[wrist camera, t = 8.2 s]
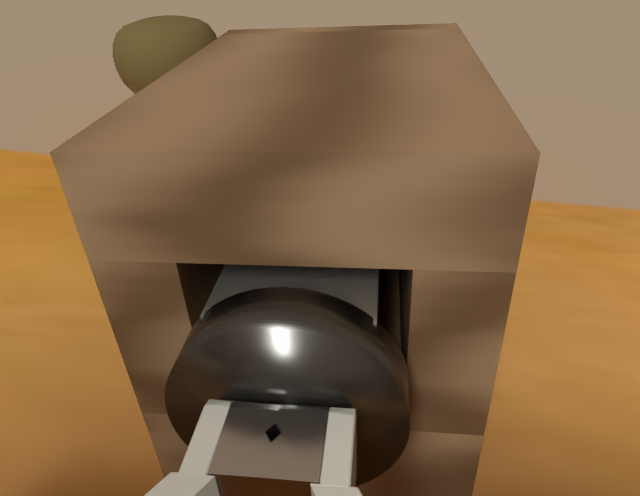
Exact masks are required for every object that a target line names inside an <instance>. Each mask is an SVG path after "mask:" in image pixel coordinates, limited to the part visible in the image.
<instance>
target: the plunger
mask: <svg viewBox="0 0 640 496" xmlns="http://www.w3.org/2000/svg"><path fill="white" fill-rule="evenodd" d="M379 276H380V269H371V268H336V267H302V266H267V265H233V264H225V265H224V267H223V270H222V272H221V274H220V276H219V278H218V280H217V282H216V284H215V286H214V288H213V290H212V292H211V295H210V297H209V299H208V301H207V303H206V305H205V307H204V309H203V311H202V313H201V315H200V318H199V319H198V320H197V321H196V322H195V324H194V326H193V327H192V329H191V330H190V332H189V334H188V337H187V339H186V341H185V343H184V345H183V347H182V349H181V351H180V353H179V355H178V357H177V359H176V361H175V363H174V365H173V367H172V369H171V371H170V374H169V376H168V379H167V382H166V387H165V406H166V410H167V414H168V417H169V419H170V422H171V424H172V426H173V427H174V429H175V431H176V433H177V434H178V435H179V437H180V438H181V439H182V441H183V442H184V443H185V444H186V445H187V446H189V444H190V441H191V438H192V436H193V433H194V431H195V428H196V426H197V423H198V420H199V418H200V415H201V413H202V410H203V408H204V406H205V404H206V403H207V402H208V400H209V399H216V400H229V401H242V402H253V403H264V404H275V405H281V404H289V405H309V406H330V407H336V408H353V409H356V412H357V462H356V486H359V485H362V484H364V483H367V482H369V481H371V480H373V479H375V478H377V477H378V476H380V475H382V474H383V473H384V472H386V471H387V470H388V469H389V468H391V467H392V466H393V464H394V463H395V462H396V461H397V460H398V459H399V457H400V456H401V454H402V453H403V451H404V449H405V447H406V444H407V442H408V438H409V433H410V412H409V386H408V370H407V366H406V361H405V359H404V356H403V354H402V351H401V349H400V348H399V346H398V344H397V343H396V341H395V340H394V338H393V337H392V336H391V335H390V334H389V332H388V331H387V330H386V329H385V328H384V327H383V326H382V325H381V324H380V323H379V322H378V309H379ZM356 486H355V487H356Z"/></svg>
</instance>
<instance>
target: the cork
mask: <svg viewBox="0 0 640 496" xmlns="http://www.w3.org/2000/svg"><path fill="white" fill-rule="evenodd" d="M216 39H217V37H216V34H215V33H214V31H213V30H212V29H211V27H210V26H209V25H208V24H207V23H205V22H203V21H201V20H199V19H196V18H190V17H184V16H171V15H170V16H156V17H150V18H145V19H142V20H138V21H136V22H133V23H130V24H128V25H125V26H123V27H122V28H121V29H120V30H119V31H118V32H117V33H116V36H115V39H114V42H113V59H114V62H115V66H116V69H117V71H118V73H119V75H120V77H121V79H122V81H123V82H124V84H125V85H126V86H127V87H128V88H130V89H131V91H133V92H134V95H135V94H136V93H138V92H139V91H141V90H142V89H144V88H145V87H147V86H148V85H150V84H151V83H153V82H154V81H155V80H157V79H158V78H160V77H161V76H163V75H164V74H166V73H167V72H169V71H170V70H172V69H173V68H175V67H176V66H177V65H179V64H180V63H182V62H183V61H185V60H186V59H188V58H189V57H191V56H192V55H194V54H195V53H196V52H198V51H199V50H201V49H202V48H204V47H205V46H207V45H208V44H210V43H211V42H213V41H214V40H216Z"/></svg>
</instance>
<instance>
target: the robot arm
mask: <svg viewBox="0 0 640 496" xmlns="http://www.w3.org/2000/svg"><path fill="white" fill-rule="evenodd" d="M356 462H357V412H356V409H353V408H336V407H330V406H309V405H289V404H281V405H275V404H264V403H253V402H242V401H229V400H216V399H209V400H208V402H207V403H206V404H205V406H204V408H203V410H202V413H201V415H200V418H199V420H198V423H197V426H196V428H195V431H194V433H193V436H192V438H191V441H190V444H189V446H188V449H187V451H186V454H185V456H184V459H183V462H182V464H181V467H180V469H179V472H170V473H169V474H168V475H167V476H166V477H165V478H163V479H162V480H161V481H160V482H159V483H158V484H157V485H155V486H154V487H153V488H152V489H151V490H150V491H148V492H147V493H146V494H145V495H144V496H363V495H362V493H361V491H360V490H359V488H358V487H355V486H356Z"/></svg>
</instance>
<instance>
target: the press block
mask: <svg viewBox="0 0 640 496" xmlns="http://www.w3.org/2000/svg"><path fill="white" fill-rule="evenodd" d="M50 154H51V156H52V159H53V162H54V165H55V168H56V171H57V173H58V176H59V179H60V182H61V185H62V188H63V190H64V193H65V196H66V199H67V202H68V205H69V207H70V210H71V213H72V216H73V219H74V222H75V224H76V227H77V230H78V233H79V236H80V239H81V241H82V244H83V247H84V250H85V253H86V256H87V258H88V261H89V264H90V267H91V270H92V273H93V275H94V278H95V281H96V284H97V287H98V290H99V292H100V295H101V298H102V301H103V304H104V307H105V309H106V312H107V315H108V318H109V321H110V324H111V326H112V329H113V332H114V335H115V338H116V341H117V343H118V346H119V349H120V352H121V355H122V358H123V360H124V363H125V366H126V369H127V372H128V375H129V377H130V380H131V383H132V386H133V389H134V392H135V394H136V397H137V400H138V403H139V406H140V409H141V411H142V414H143V417H144V420H145V423H146V426H147V428H148V431H149V434H150V437H151V440H152V443H153V445H154V448H155V451H156V454H157V457H158V460H159V462H160V465H161V468H162V471H163V474H164V476H165V477H166V476H167V475H168V474H169V473H170V472H179V469H180V467H181V464H182V462H183V459H184V456H185V454H186V451H187V449H188V446H187V445H186V444H185V443H184V442H183V441H182V439H181V438H180V437H179V435H178V434H177V433H176V431H175V429H174V427H173V426H172V424H171V422H170V419H169V417H168V414H167V410H166V406H165V387H166V382H167V379H168V376H169V374H170V371H171V369H172V367H173V365H174V363H175V361H176V359H177V357H178V355H179V353H180V351H181V349H182V347H183V345H184V343H185V341H186V339H187V337H188V334H189V332H190V330H191V329H192V327H193V326H194V324H195V322H196V321H197V320H198V319H199V318H200V315H201V313H202V311H203V309H204V307H205V305H206V303H207V301H208V299H209V297H210V295H211V292H212V290H213V288H214V286H215V284H216V282H217V280H218V278H219V276H220V274H221V272H222V270H223V267H224V265H225V264H233V265H267V266H302V267H336V268H371V269H380V276H379V309H378V322H379V323H380V324H381V325H382V326H383V327H384V328H385V329H386V330H387V331H388V332H389V334H390V335H391V336H392V337H393V338H394V340H395V341H396V343H397V344H398V346H399V348H400V349H401V351H402V354H403V356H404V359H405V361H406V366H407V370H408V386H409V412H410V433H409V438H408V442H407V444H406V447H405V449H404V451H403V453H402V454H401V456H400V457H399V459H398V460H397V461H396V462H395V463H394V464H393V466H392V467H391V468H389V469H388V470H387V471H386V472H384V473H383V474H382V475H380V476H378V477H377V478H375V479H373V480H371V481H369V482H367V483H364V484H362V485H359V486H356V487H358V488H359V490H360V491H361V493H362V495H363V496H472V491H473V486H474V481H475V476H476V471H477V466H478V461H479V456H480V451H481V446H482V441H483V436H484V431H485V426H486V421H487V416H488V411H489V406H490V401H491V396H492V391H493V386H494V381H495V376H496V371H497V366H498V361H499V356H500V351H501V346H502V341H503V336H504V331H505V326H506V321H507V316H508V311H509V306H510V301H511V296H512V291H513V286H514V281H515V276H516V271H517V266H518V261H519V256H520V251H521V246H522V241H523V236H524V231H525V226H526V221H527V217H528V212H529V207H530V202H531V196H532V191H533V187H534V182H535V176H536V171H537V166H538V161H539V156H540V152H539V150H538V149H537V148H536V146H535V144H534V143H533V141H532V140H531V138H530V136H529V135H528V133H527V132H526V130H525V129H524V127H523V126H522V124H521V122H520V121H519V119H518V118H517V116H516V115H515V113H514V112H513V110H512V109H511V107H510V105H509V104H508V102H507V101H506V99H505V98H504V96H503V95H502V93H501V91H500V90H499V89H498V87H497V85H496V84H495V82H494V81H493V79H492V78H491V76H490V74H489V73H488V71H487V70H486V68H485V67H484V65H483V63H482V62H481V60H480V59H479V57H478V56H477V54H476V53H475V51H474V49H473V48H472V46H471V45H470V44H469V42H468V40H467V39H466V37H465V36H464V34H463V32H462V31H461V29H460V28H459V26H458V25H457V24H456V23H453V24H418V25H383V26H350V27H317V28H316V27H315V28H281V29H246V30H229V31H227V32H226V33H224V34H223V35H221V36H220V37H219V38H217V39H216V40H214V41H213V42H211V43H210V44H208V45H207V46H205V47H204V48H202V49H201V50H199V51H198V52H196V53H195V54H194V55H192V56H191V57H189V58H188V59H186V60H185V61H183V62H182V63H180V64H179V65H177V66H176V67H175V68H173V69H172V70H170V71H169V72H167V73H166V74H164V75H163V76H161V77H160V78H158V79H157V80H155V81H154V82H153V83H151V84H150V85H148V86H147V87H145V88H144V89H142V90H141V91H139V92H138V93H136V94H135V95H133V96H132V97H131V98H129V99H128V100H126V101H125V102H123V103H122V104H120V105H119V106H117V107H116V108H115V109H113V110H112V111H110V112H109V113H107V114H106V115H104V116H103V117H101V118H100V119H98V120H97V121H95V122H94V123H92V124H91V125H90V126H88V127H87V128H85V129H84V130H82V131H81V132H79V133H78V134H77V135H75V136H73V137H72V138H70V139H69V140H68V141H66V142H65V143H63V144H62V145H60V146H59V147H57V148H56V149H54V150H53V151H52V152H50Z"/></svg>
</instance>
